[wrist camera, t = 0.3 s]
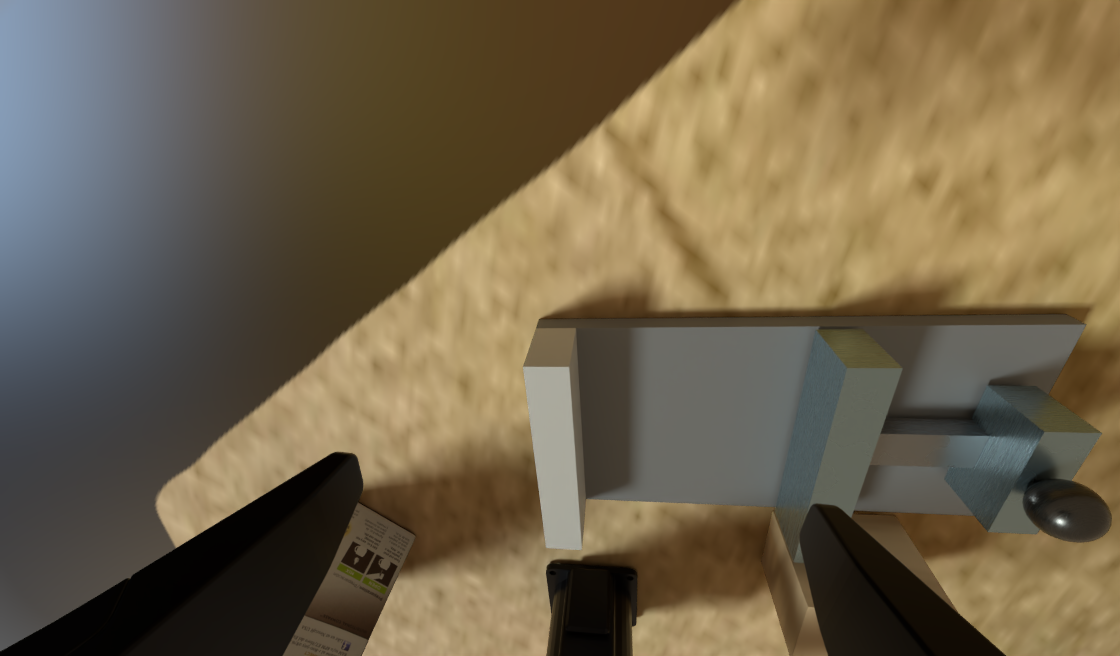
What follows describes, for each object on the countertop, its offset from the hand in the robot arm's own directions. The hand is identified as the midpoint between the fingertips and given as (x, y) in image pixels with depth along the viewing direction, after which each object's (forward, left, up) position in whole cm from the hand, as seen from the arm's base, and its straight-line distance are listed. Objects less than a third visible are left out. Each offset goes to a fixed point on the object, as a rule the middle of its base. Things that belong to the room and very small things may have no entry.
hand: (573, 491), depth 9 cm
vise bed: (-9, -9, -14) cm, 19 cm away
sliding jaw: (-9, -15, -13) cm, 22 cm away
